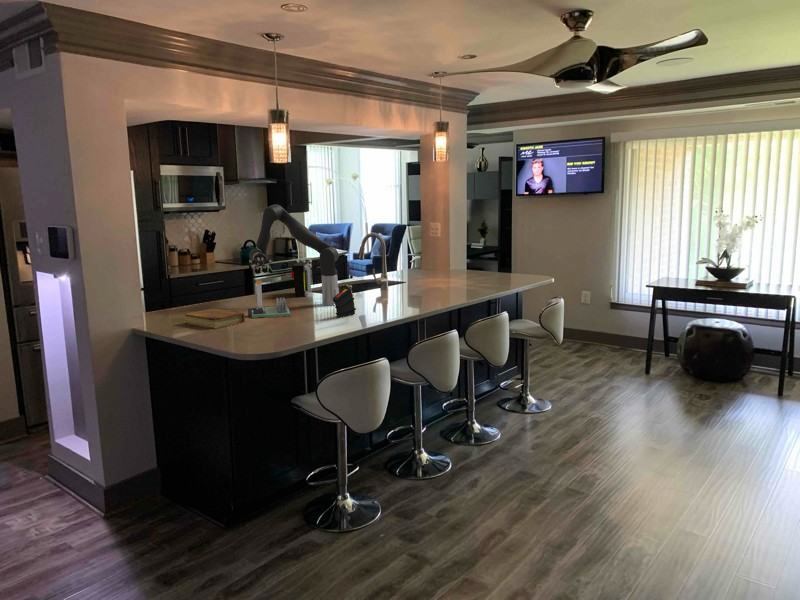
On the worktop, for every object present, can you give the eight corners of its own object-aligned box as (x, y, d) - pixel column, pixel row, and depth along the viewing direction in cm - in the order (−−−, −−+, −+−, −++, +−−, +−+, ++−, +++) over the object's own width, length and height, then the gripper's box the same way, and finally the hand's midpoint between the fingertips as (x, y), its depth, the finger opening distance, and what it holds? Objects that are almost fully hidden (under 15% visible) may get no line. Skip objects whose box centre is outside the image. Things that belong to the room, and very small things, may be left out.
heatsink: (247, 311, 335) (247, 299, 334) (285, 309, 340) (284, 297, 339) (248, 317, 319) (247, 304, 318) (287, 315, 324) (286, 302, 323)
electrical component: (308, 297, 382) (306, 265, 378) (291, 297, 382) (290, 265, 378) (312, 292, 399) (311, 262, 395) (297, 292, 399) (296, 262, 396)
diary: (245, 323, 307) (244, 312, 306) (215, 330, 292) (214, 318, 291) (215, 318, 320) (214, 307, 319) (185, 324, 304) (184, 313, 303)
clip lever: (252, 311, 326) (250, 280, 324) (263, 310, 328) (262, 279, 325) (252, 313, 322) (251, 281, 319) (264, 312, 323) (262, 280, 320)
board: (251, 310, 338) (251, 308, 337) (287, 308, 343) (287, 306, 342) (252, 318, 317) (251, 315, 316) (290, 316, 322) (290, 313, 321)
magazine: (359, 310, 327) (350, 287, 319) (344, 324, 319) (334, 301, 312) (355, 310, 329) (345, 286, 322) (339, 323, 321) (329, 300, 314)
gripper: (271, 265, 358) (273, 269, 342) (248, 265, 355) (249, 269, 339) (270, 252, 357) (273, 256, 341) (247, 252, 354) (248, 256, 337)
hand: (261, 262), depth 340 cm, fingers closed
